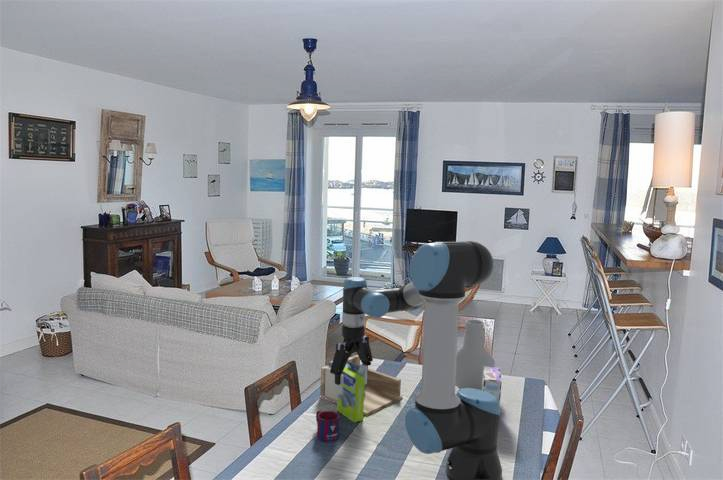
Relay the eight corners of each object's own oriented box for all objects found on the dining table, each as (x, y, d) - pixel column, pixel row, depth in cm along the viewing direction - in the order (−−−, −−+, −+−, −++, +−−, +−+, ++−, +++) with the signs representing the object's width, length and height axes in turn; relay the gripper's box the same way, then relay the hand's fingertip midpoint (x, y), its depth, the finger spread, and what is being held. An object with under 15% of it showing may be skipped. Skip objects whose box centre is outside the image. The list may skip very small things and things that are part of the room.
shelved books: (342, 402, 194) (343, 369, 193) (324, 395, 200) (325, 363, 198) (352, 398, 198) (353, 365, 197) (333, 391, 204) (334, 359, 202)
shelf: (367, 415, 187) (368, 384, 185) (320, 396, 201) (321, 367, 199) (402, 398, 202) (403, 369, 201) (356, 382, 216) (357, 354, 215)
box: (336, 411, 189) (338, 362, 187) (346, 408, 192) (348, 360, 190) (354, 423, 181) (355, 372, 179) (364, 420, 183) (366, 370, 181)
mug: (322, 443, 167) (323, 422, 166) (309, 429, 176) (309, 408, 175) (342, 439, 170) (343, 418, 169) (328, 425, 179) (329, 405, 178)
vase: (445, 400, 202) (449, 325, 198) (449, 383, 218) (453, 314, 214) (492, 406, 198) (498, 330, 194) (493, 389, 214) (498, 318, 210)
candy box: (498, 429, 180) (502, 381, 178) (480, 427, 181) (483, 379, 179) (497, 412, 194) (500, 366, 192) (479, 410, 195) (482, 364, 193)
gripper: (337, 334, 171) (335, 402, 174) (384, 320, 189) (382, 381, 192) (319, 329, 176) (318, 395, 178) (367, 315, 194) (365, 375, 196)
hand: (351, 388), depth 185 cm, fingers open, 11 cm apart
